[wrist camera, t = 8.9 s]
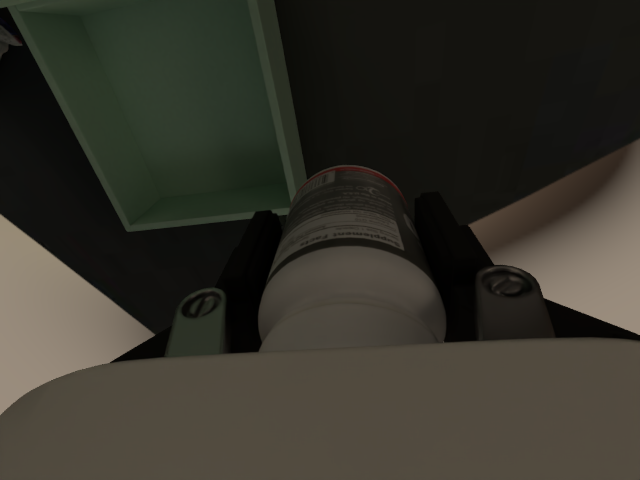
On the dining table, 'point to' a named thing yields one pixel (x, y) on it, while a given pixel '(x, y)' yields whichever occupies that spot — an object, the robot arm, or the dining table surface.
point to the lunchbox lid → (12, 2)
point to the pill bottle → (349, 269)
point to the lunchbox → (173, 103)
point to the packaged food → (7, 37)
